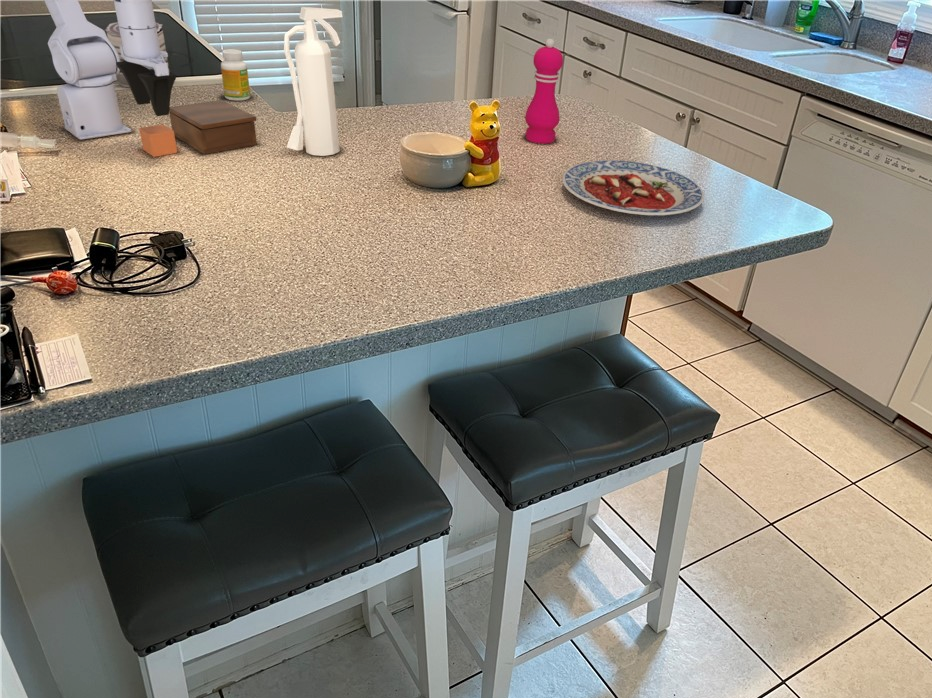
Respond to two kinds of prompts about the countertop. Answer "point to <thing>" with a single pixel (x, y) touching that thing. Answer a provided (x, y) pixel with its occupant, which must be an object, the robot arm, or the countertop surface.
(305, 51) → the fire extinguisher
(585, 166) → the ceramic plate
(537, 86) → the pepper mill
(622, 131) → the countertop surface
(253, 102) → the countertop surface
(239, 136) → the box
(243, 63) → the supplement bottle
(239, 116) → the lid
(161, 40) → the can
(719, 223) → the countertop surface
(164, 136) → the block
